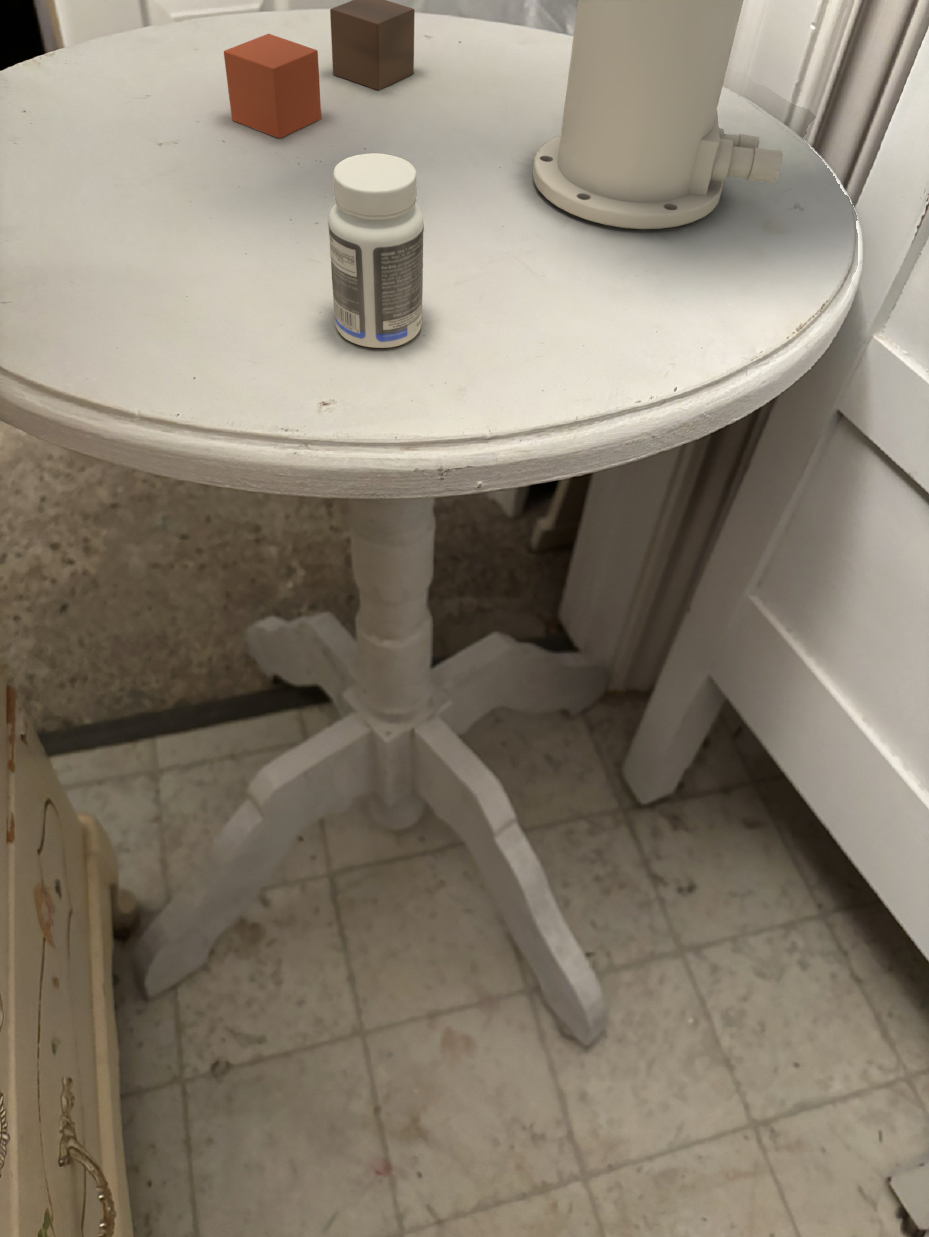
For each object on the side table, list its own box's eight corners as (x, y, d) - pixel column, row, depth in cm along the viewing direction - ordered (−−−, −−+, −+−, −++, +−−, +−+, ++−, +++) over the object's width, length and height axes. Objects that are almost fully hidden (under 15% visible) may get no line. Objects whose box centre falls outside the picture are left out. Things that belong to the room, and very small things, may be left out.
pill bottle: (425, 305, 54) (429, 153, 47) (417, 354, 50) (420, 197, 44) (340, 298, 53) (333, 145, 47) (328, 347, 50) (318, 189, 44)
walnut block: (368, 58, 76) (367, -6, 73) (414, 74, 75) (415, 8, 71) (332, 74, 74) (329, 9, 70) (378, 91, 72) (377, 24, 69)
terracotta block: (274, 101, 70) (268, 33, 67) (322, 119, 69) (318, 50, 65) (231, 120, 68) (222, 50, 64) (279, 139, 66) (273, 68, 63)
